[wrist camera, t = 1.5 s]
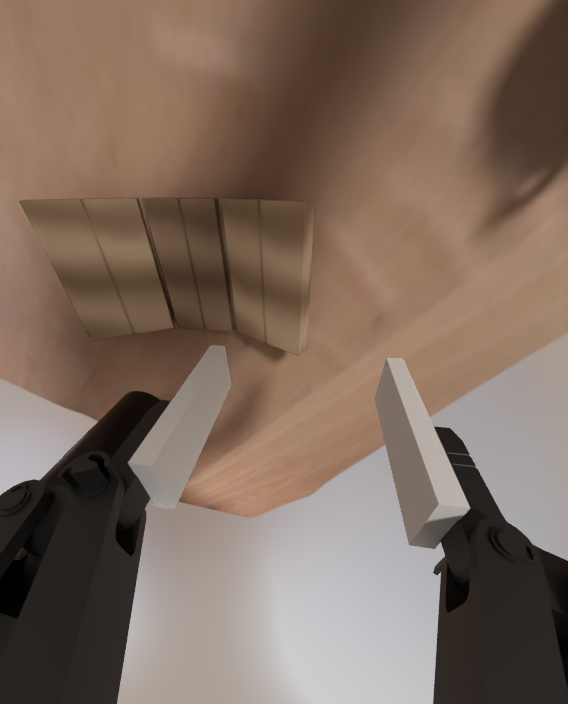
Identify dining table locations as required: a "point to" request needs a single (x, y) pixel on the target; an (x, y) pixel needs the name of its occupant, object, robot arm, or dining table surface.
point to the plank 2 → (271, 268)
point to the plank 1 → (103, 263)
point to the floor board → (194, 260)
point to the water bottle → (106, 432)
